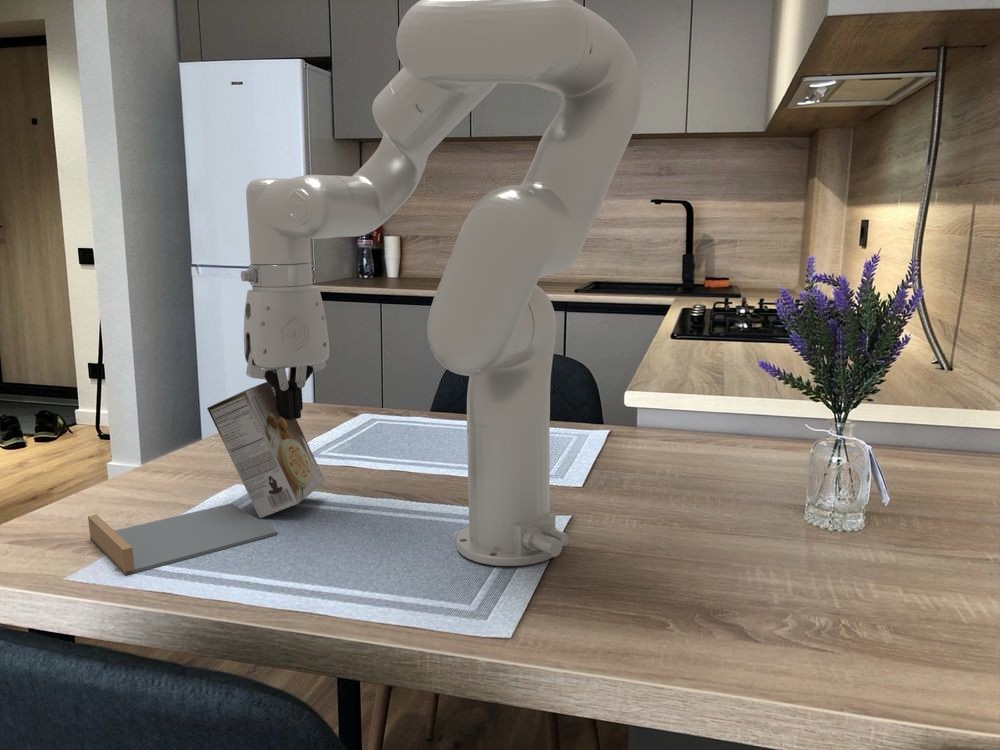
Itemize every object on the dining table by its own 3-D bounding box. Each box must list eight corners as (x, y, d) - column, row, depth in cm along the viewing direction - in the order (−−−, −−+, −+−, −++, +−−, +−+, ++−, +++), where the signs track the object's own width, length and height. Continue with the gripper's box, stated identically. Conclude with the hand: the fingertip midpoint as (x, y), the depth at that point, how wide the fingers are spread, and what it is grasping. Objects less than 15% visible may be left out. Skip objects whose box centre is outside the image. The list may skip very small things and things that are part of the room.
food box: (288, 497, 118) (240, 392, 116) (327, 481, 116) (278, 376, 115) (257, 519, 109) (205, 407, 108) (299, 503, 108) (246, 389, 106)
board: (277, 534, 104) (276, 511, 103) (125, 575, 93) (122, 549, 92) (232, 505, 114) (230, 484, 114) (90, 539, 103) (87, 516, 103)
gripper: (237, 283, 100) (247, 432, 103) (348, 276, 109) (354, 413, 112) (213, 279, 105) (223, 421, 109) (320, 273, 115) (327, 404, 118)
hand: (290, 417), depth 111 cm, fingers closed
